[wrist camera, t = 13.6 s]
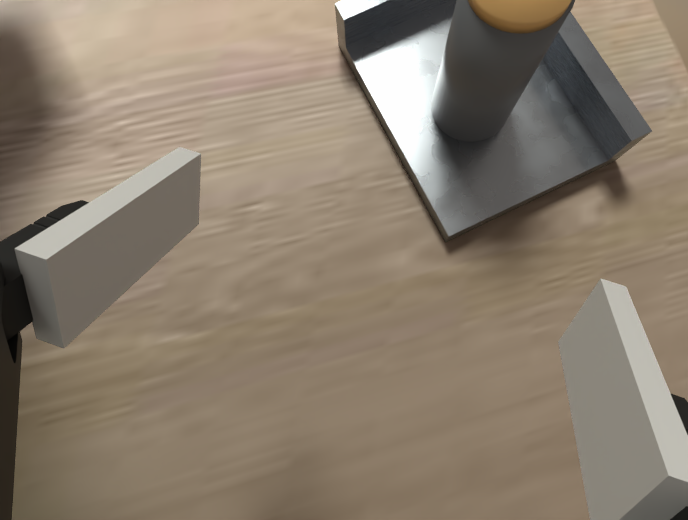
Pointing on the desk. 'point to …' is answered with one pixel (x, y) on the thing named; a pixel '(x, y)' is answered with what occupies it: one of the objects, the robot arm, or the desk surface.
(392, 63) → the plate
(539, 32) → the grey cylinder orange top
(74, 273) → the robot arm
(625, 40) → the desk surface
